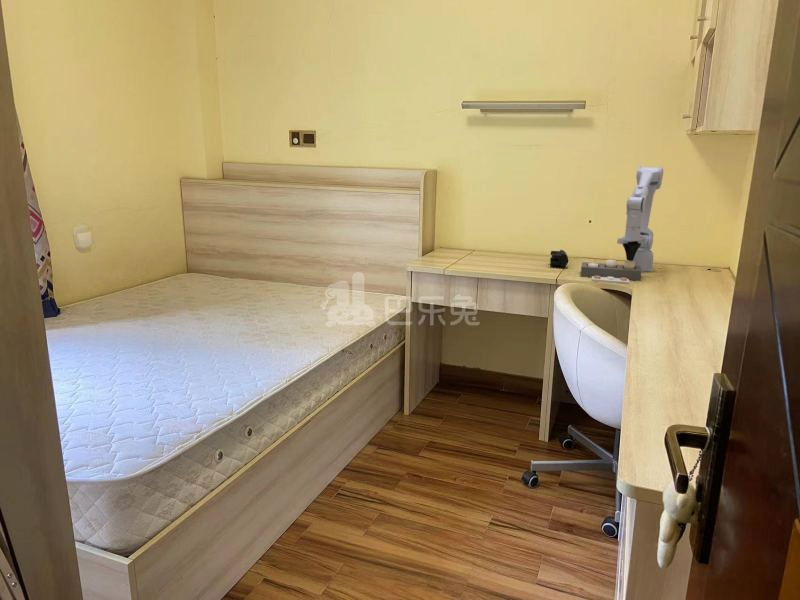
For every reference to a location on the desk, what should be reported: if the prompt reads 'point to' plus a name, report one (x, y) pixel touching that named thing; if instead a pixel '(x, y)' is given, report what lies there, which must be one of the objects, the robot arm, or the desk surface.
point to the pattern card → (610, 279)
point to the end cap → (558, 259)
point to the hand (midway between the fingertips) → (629, 260)
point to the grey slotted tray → (611, 271)
